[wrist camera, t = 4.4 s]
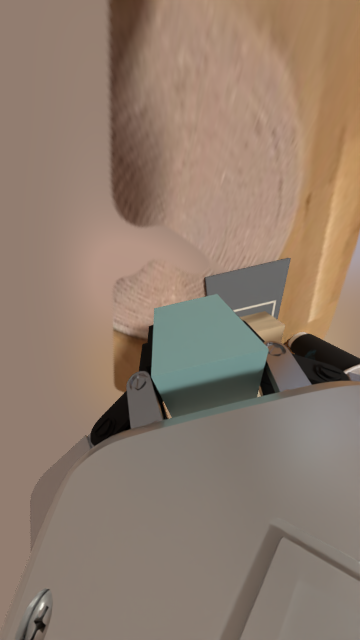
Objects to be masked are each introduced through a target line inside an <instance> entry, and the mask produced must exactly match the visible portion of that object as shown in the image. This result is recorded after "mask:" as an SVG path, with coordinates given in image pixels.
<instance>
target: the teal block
mask: <svg viewBox="0 0 360 640" xmlns="http://www.w3.org/2000/svg"><path fill="white" fill-rule="evenodd" d="M268 350H269V349H268V348H267V347H266V345H265V344H264V343H263V342H262V341H261V340H260V339H259V338H258V337H257V336H256V335H255V334H254V333H253V332H252V331H251V330H250V328H249V327H248V326H247V325H246V324H245V323H244V322H243V321H242V320H241V319H240V318H239V317H238V316H237V315H236V314H235V312H234V311H233V310H232V309H231V308H230V307H229V306H228V305H227V304H226V303H225V302H224V301H223V300H222V299H221V298H220V297H219V295H218V294H215V295H210V296H206V297H202V298H197V299H193V300H189V301H185V302H180V303H176V304H172V305H167V306H163V307H159V308H154V326H153V347H152V368H151V378H152V380H153V382H154V383H155V385H156V387H157V389H158V391H159V393H160V395H161V397H162V399H163V401H164V403H165V405H166V407H167V409H168V411H169V412H170V415H171V416H172V418H174V417H178V416H182V415H186V414H190V413H194V412H199V411H203V410H207V409H211V408H215V407H219V406H223V405H227V404H232V403H236V402H240V401H244V400H248V399H252V398H257V394H258V390H259V386H260V382H261V378H262V374H263V370H264V366H265V362H266V358H267V354H268Z"/></svg>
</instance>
